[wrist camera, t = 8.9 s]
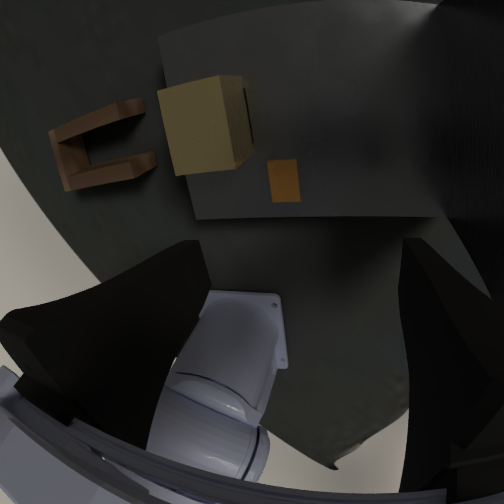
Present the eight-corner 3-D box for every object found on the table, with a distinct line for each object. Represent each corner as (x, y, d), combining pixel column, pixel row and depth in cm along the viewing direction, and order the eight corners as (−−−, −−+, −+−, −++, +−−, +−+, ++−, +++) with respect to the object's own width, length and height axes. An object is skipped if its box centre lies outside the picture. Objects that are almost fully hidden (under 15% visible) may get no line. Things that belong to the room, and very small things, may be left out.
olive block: (266, 143, 18) (235, 169, 14) (219, 148, 19) (175, 175, 15) (255, 76, 16) (219, 75, 11) (207, 85, 17) (157, 91, 12)
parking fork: (157, 165, 22) (134, 178, 19) (88, 179, 24) (65, 191, 22) (142, 97, 19) (116, 102, 16) (73, 123, 21) (48, 131, 19)
